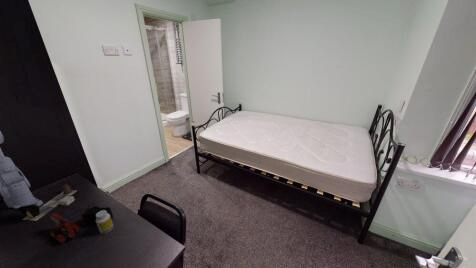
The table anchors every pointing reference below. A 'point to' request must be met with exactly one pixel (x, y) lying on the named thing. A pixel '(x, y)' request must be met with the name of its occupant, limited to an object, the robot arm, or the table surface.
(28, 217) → the pawn
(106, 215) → the supplement bottle
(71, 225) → the toy fire truck
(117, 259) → the table surface
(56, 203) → the board
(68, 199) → the die
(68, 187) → the pawn
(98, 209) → the digital camera
